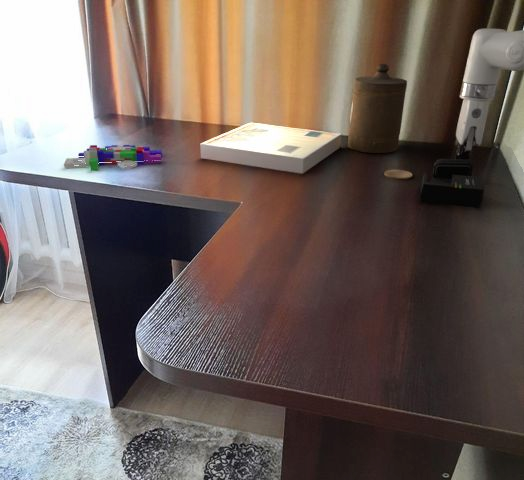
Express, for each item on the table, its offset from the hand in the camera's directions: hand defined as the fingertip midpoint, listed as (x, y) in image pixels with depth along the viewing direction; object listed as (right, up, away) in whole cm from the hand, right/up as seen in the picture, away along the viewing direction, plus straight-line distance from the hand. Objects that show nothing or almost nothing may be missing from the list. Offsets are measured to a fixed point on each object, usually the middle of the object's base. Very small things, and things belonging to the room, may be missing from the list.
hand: (458, 171), depth 128 cm
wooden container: (-17, +16, +24) cm, 33 cm away
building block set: (-90, +7, +10) cm, 91 cm away
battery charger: (-7, -11, -12) cm, 18 cm away
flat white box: (-47, +12, +18) cm, 51 cm away
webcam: (-4, -4, -3) cm, 6 cm away
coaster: (-15, 0, +2) cm, 15 cm away
